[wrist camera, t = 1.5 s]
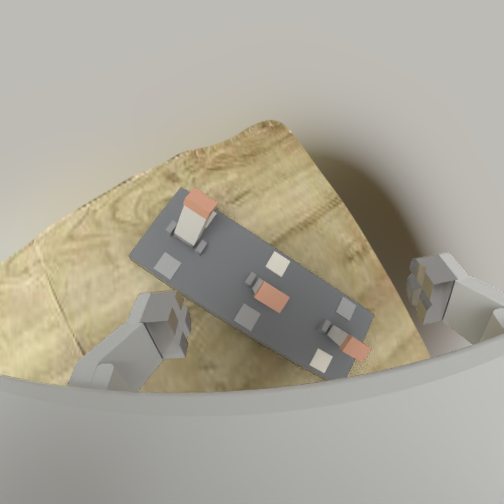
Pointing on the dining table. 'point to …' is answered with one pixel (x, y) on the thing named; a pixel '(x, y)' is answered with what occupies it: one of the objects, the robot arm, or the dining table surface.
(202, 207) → the lever
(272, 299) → the middle lever
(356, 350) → the lever
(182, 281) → the switch panel
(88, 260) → the dining table surface
